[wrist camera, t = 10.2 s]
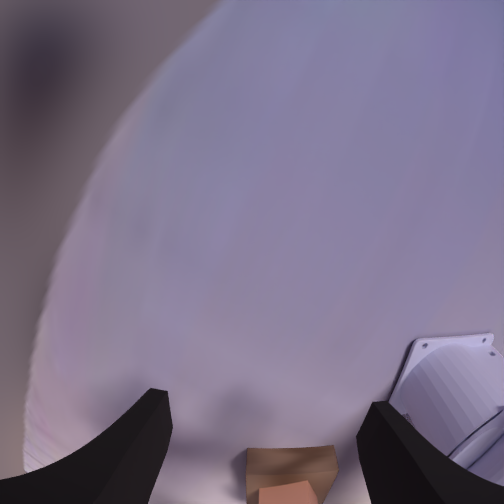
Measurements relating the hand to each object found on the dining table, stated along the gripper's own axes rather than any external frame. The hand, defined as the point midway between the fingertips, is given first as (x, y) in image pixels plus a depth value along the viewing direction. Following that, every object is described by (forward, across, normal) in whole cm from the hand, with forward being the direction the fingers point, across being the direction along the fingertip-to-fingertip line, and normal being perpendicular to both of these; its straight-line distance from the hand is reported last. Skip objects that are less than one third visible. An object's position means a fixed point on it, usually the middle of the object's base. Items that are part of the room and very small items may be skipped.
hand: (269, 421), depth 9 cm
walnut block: (+10, -4, +19) cm, 22 cm away
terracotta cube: (+6, -4, +19) cm, 21 cm away
